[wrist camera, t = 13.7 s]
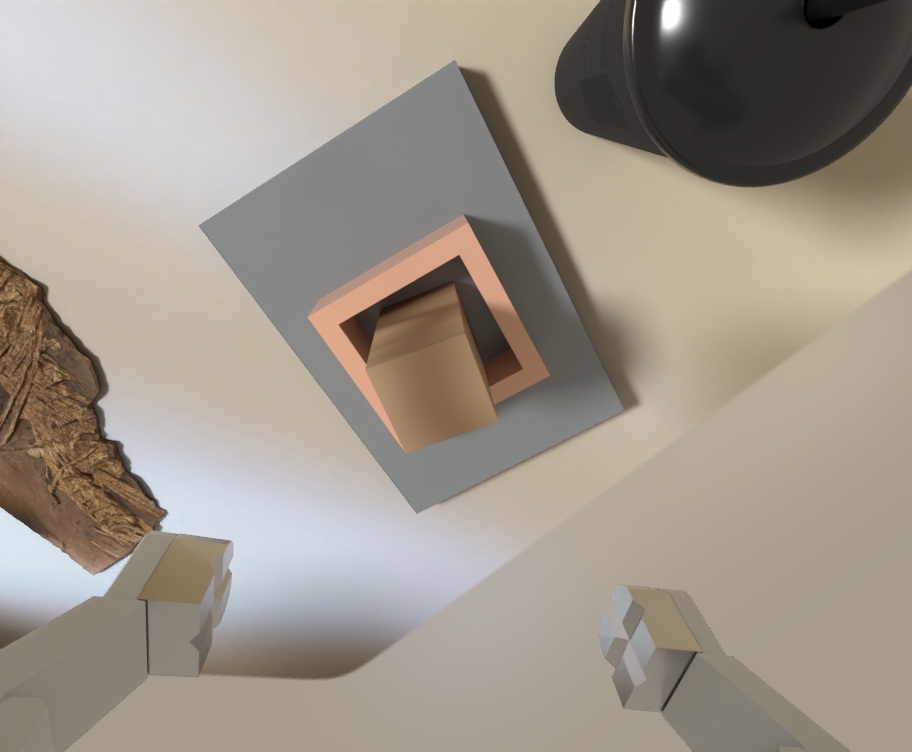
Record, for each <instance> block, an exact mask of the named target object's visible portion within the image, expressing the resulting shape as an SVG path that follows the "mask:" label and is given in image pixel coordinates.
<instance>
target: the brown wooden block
mask: <svg viewBox="0 0 912 752" xmlns="http://www.w3.org/2000/svg"><path fill="white" fill-rule="evenodd" d="M365 371H366V373H367V375H368V377H369V379H370V381H371V383H372V385H373V387H374V389H375V391H376V393H377V395H378V397H379V399H380V401H381V404H382V406H383V408H384V410H385V412H386V414H387V416H388V418H389V420H390V422H391V424H392V426H393V428H394V430H395V432H396V434H397V436H398V439H399V441H400V443H401V445H402V447H403V449H404V451H405V453H406V454H407V453H409V452H412V451H415V450H418V449H421V448H424V447H427V446H430V445H432V444H435V443H438V442H441V441H444V440H447V439H450V438H453V437H455V436H458V435H461V434H464V433H467V432H470V431H473V430H475V429H478V428H481V427H484V426H487V425H490V424H493V423H496V422H498V417H497V413H496V410H495V406H494V402H493V398H492V395H491V391H490V387H489V384H488V380H487V376H486V372H485V369H484V365H483V361H482V358H481V354H480V350H479V347H478V345H477V342H476V339H475V337H474V334H473V331H472V329H471V326H470V323H469V321H468V318H467V315H466V313H465V310H464V307H463V305H462V302H461V299H460V297H459V294H458V291H457V289H456V286H455V284H454V281H452V282H450V283H447V284H445V285H442V286H439V287H437V288H434V289H431V290H429V291H426V292H423V293H421V294H418V295H415V296H413V297H410V298H408V299H405V300H402V301H400V302H397V303H394V304H392V305H389V306H386V307H384V308H381V310H380V314H379V318H378V322H377V326H376V330H375V334H374V338H373V341H372V345H371V349H370V353H369V357H368V361H367V365H366V369H365Z"/></svg>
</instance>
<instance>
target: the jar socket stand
mask: <svg viewBox="0 0 912 752" xmlns="http://www.w3.org/2000/svg"><path fill="white" fill-rule="evenodd" d="M199 227H200V228H201V229H202V231H203V232H204V233H205V235H206V236H207V237H208V239H209V240H210V241H211V243H212V244H213V245H214V247H215V248H216V249H217V251H218V252H219V253H220V255H221V256H222V257H223V259H224V260H225V261H226V262H227V264H228V265H229V266H230V268H231V269H232V270H233V272H234V273H235V274H236V276H237V277H238V278H239V280H240V281H241V282H242V284H243V285H244V286H245V288H246V289H247V290H248V292H249V293H250V294H251V295H252V297H253V298H254V299H255V301H256V302H257V303H258V305H259V306H260V307H261V309H262V310H263V311H264V313H265V314H266V315H267V317H268V318H269V319H270V321H271V322H272V323H273V325H274V326H275V327H276V329H277V330H278V331H279V332H280V334H281V335H282V336H283V338H284V339H285V340H286V342H287V343H288V344H289V346H290V347H291V348H292V350H293V351H294V352H295V354H296V355H297V356H298V358H299V359H300V360H301V362H302V363H303V364H304V366H305V367H306V368H307V369H308V371H309V372H310V373H311V375H312V376H313V377H314V379H315V380H316V381H317V383H318V384H319V385H320V387H321V388H322V389H323V391H324V392H325V393H326V395H327V396H328V397H329V399H330V400H331V401H332V402H333V404H334V405H335V406H336V408H337V409H338V410H339V412H340V413H341V414H342V416H343V417H344V418H345V420H346V421H347V422H348V424H349V425H350V426H351V428H352V429H353V430H354V432H355V433H356V434H357V436H358V437H359V438H360V439H361V441H362V442H363V443H364V445H365V446H366V447H367V449H368V450H369V451H370V453H371V454H372V455H373V457H374V458H375V459H376V461H377V462H378V463H379V465H380V466H381V467H382V469H383V470H384V471H385V472H386V474H387V475H388V476H389V478H390V479H391V480H392V482H393V483H394V484H395V486H396V487H397V488H398V490H399V491H400V492H401V494H402V495H403V496H404V498H405V499H406V500H407V502H408V503H409V504H410V506H411V507H412V508H413V509H414V511H415V512H416V513H419V512H421V511H423V510H425V509H427V508H429V507H431V506H433V505H435V504H437V503H439V502H441V501H443V500H445V499H447V498H449V497H451V496H453V495H456V494H458V493H460V492H462V491H464V490H466V489H468V488H470V487H472V486H474V485H476V484H478V483H480V482H482V481H484V480H486V479H488V478H490V477H492V476H494V475H496V474H498V473H500V472H502V471H504V470H506V469H508V468H510V467H512V466H514V465H516V464H518V463H520V462H522V461H524V460H526V459H528V458H530V457H532V456H534V455H536V454H538V453H540V452H542V451H544V450H546V449H548V448H550V447H552V446H554V445H556V444H558V443H560V442H562V441H564V440H566V439H568V438H570V437H572V436H574V435H576V434H578V433H580V432H582V431H584V430H586V429H588V428H590V427H592V426H594V425H596V424H598V423H600V422H602V421H604V420H606V419H608V418H610V417H612V416H614V415H616V414H618V413H620V412H622V411H624V409H623V407H622V405H621V403H620V401H619V399H618V396H617V394H616V392H615V390H614V388H613V386H612V384H611V382H610V380H609V378H608V376H607V374H606V372H605V370H604V368H603V365H602V363H601V361H600V359H599V357H598V355H597V353H596V351H595V349H594V347H593V345H592V343H591V341H590V339H589V336H588V334H587V332H586V330H585V328H584V326H583V324H582V322H581V320H580V318H579V316H578V314H577V312H576V310H575V308H574V305H573V303H572V301H571V299H570V297H569V295H568V293H567V291H566V289H565V287H564V285H563V283H562V281H561V279H560V276H559V274H558V272H557V270H556V268H555V266H554V264H553V262H552V260H551V258H550V256H549V254H548V252H547V250H546V247H545V245H544V243H543V241H542V239H541V237H540V235H539V233H538V231H537V229H536V227H535V225H534V223H533V221H532V219H531V216H530V214H529V212H528V210H527V208H526V206H525V204H524V202H523V200H522V198H521V196H520V194H519V192H518V190H517V187H516V185H515V183H514V181H513V179H512V177H511V175H510V173H509V171H508V169H507V167H506V165H505V163H504V161H503V159H502V156H501V154H500V152H499V150H498V148H497V146H496V144H495V142H494V140H493V138H492V136H491V134H490V132H489V130H488V127H487V125H486V123H485V121H484V119H483V117H482V115H481V113H480V111H479V109H478V107H477V105H476V103H475V101H474V99H473V96H472V94H471V92H470V90H469V88H468V86H467V84H466V82H465V80H464V78H463V76H462V74H461V72H460V70H459V67H458V65H457V63H456V61H455V60H454V61H453V62H451V63H450V64H448V65H447V66H445V67H443V68H442V69H440V70H439V71H437V72H436V73H434V74H433V75H431V76H430V77H428V78H426V79H425V80H423V81H422V82H420V83H419V84H417V85H416V86H414V87H412V88H411V89H409V90H408V91H406V92H405V93H403V94H402V95H400V96H399V97H397V98H395V99H394V100H392V101H391V102H389V103H388V104H386V105H385V106H383V107H382V108H380V109H378V110H377V111H375V112H374V113H372V114H371V115H369V116H368V117H366V118H364V119H363V120H361V121H360V122H358V123H357V124H355V125H354V126H352V127H351V128H349V129H347V130H346V131H344V132H343V133H341V134H340V135H338V136H337V137H335V138H333V139H332V140H330V141H329V142H327V143H326V144H324V145H323V146H321V147H320V148H318V149H316V150H315V151H313V152H312V153H310V154H309V155H307V156H306V157H304V158H303V159H301V160H299V161H298V162H296V163H295V164H293V165H292V166H290V167H289V168H287V169H285V170H284V171H282V172H281V173H279V174H278V175H276V176H275V177H273V178H272V179H270V180H268V181H267V182H265V183H264V184H262V185H261V186H259V187H258V188H256V189H255V190H253V191H251V192H250V193H248V194H247V195H245V196H244V197H242V198H241V199H239V200H237V201H236V202H234V203H233V204H231V205H230V206H228V207H227V208H225V209H224V210H222V211H220V212H219V213H217V214H216V215H214V216H213V217H211V218H210V219H208V220H206V221H205V222H203V223H202V224H200V225H199ZM452 281H454V284H455V286H456V289H457V291H458V294H459V297H460V299H461V302H462V305H463V307H464V310H465V313H466V315H467V318H468V321H469V323H470V326H471V329H472V331H473V334H474V337H475V339H476V342H477V345H478V347H479V350H480V354H481V358H482V361H483V365H484V369H485V372H486V376H487V380H488V384H489V387H490V391H491V395H492V398H493V402H494V406H495V410H496V413H497V417H498V422H496V423H493V424H490V425H487V426H484V427H481V428H478V429H475V430H473V431H470V432H467V433H464V434H461V435H458V436H455V437H453V438H450V439H447V440H444V441H441V442H438V443H435V444H432V445H430V446H427V447H424V448H421V449H418V450H415V451H412V452H409V453H407V454H406V453H405V451H404V449H403V447H402V445H401V443H400V441H399V439H398V436H397V434H396V432H395V430H394V428H393V426H392V424H391V422H390V420H389V418H388V416H387V414H386V412H385V410H384V408H383V406H382V404H381V401H380V399H379V397H378V395H377V393H376V391H375V389H374V387H373V385H372V383H371V381H370V379H369V377H368V375H367V373H366V371H365V369H366V365H367V361H368V357H369V353H370V349H371V345H372V341H373V338H374V334H375V330H376V326H377V322H378V318H379V314H380V310H381V308H384V307H386V306H389V305H392V304H394V303H397V302H400V301H402V300H405V299H408V298H410V297H413V296H415V295H418V294H421V293H423V292H426V291H429V290H431V289H434V288H437V287H439V286H442V285H445V284H447V283H450V282H452Z"/></svg>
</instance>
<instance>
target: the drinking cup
mask: <svg viewBox="0 0 912 752" xmlns="http://www.w3.org/2000/svg"><path fill="white" fill-rule="evenodd" d="M911 86H912V0H601V1H600V2H599V3H598V4H597V6H596V7H595V8H594V9H593V11H592V12H591V13H590V15H589V16H588V17H587V18H586V20H585V21H584V22H583V23H582V25H581V26H580V27H579V28H578V30H577V31H576V32H575V33H574V35H573V36H572V37H571V39H570V40H569V41H568V42H567V44H566V46H565V47H564V49H563V51H562V53H561V55H560V57H559V60H558V63H557V67H556V72H555V93H556V98H557V102H558V105H559V107H560V109H561V111H562V113H563V115H564V116H565V118H566V119H567V120H568V121H569V122H570V123H571V124H572V125H573V126H574V127H576V128H577V129H579V130H580V131H583V132H585V133H588V134H591V135H595V136H598V137H601V138H605V139H608V140H611V141H614V142H618V143H621V144H624V145H628V146H631V147H634V148H638V149H641V150H644V151H648V152H651V153H654V154H658V155H661V156H664V157H668V158H670V159H671V160H672V161H673V162H674V163H675V164H677V165H678V166H680V167H681V168H683V169H684V170H686V171H687V172H689V173H691V174H693V175H695V176H697V177H699V178H702V179H705V180H707V181H710V182H714V183H718V184H722V185H728V186H736V187H764V186H772V185H777V184H782V183H786V182H790V181H793V180H796V179H799V178H802V177H804V176H807V175H810V174H812V173H814V172H816V171H818V170H820V169H822V168H824V167H826V166H828V165H829V164H831V163H833V162H834V161H836V160H838V159H839V158H841V157H842V156H844V155H845V154H847V153H848V152H849V151H851V150H852V149H854V148H855V147H856V146H857V145H859V144H860V143H861V142H862V141H863V140H865V139H866V138H867V137H868V136H869V135H870V134H871V133H872V132H873V131H874V130H875V129H877V128H878V127H879V126H880V125H881V124H882V123H883V121H884V120H885V119H886V118H887V117H888V116H889V115H890V114H891V113H892V111H893V110H894V109H895V108H896V106H897V105H898V104H899V103H900V101H901V100H902V99H903V97H904V96H905V95H906V93H907V92H908V90H909V89H910V87H911Z"/></svg>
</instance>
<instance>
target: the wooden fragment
mask: <svg viewBox="0 0 912 752" xmlns="http://www.w3.org/2000/svg"><path fill="white" fill-rule="evenodd" d="M42 298H43V291H42V288H41V287H40V286H39V285H37V284H36V283H35V282H34V281H32V280H31V279H30V278H29V277H28V276H27V274H26V273H24V272H23V271H22V270H20V269H18V268H15V267H13V266H11V265H9V264H7V263H6V262H5V261H4V260H3V259H1V258H0V507H1V508H3V509H4V510H5V511H7V512H8V513H9V514H11V515H12V516H14V517H15V518H16V519H18V520H19V521H21V522H22V523H24V524H25V525H26V526H28V527H29V528H30V529H32V530H33V531H34V532H36V533H38V534H39V535H40V536H41V537H43V538H44V539H46V540H48V541H50V543H53V545H54V546H56V547H58V548H60V549H61V550H62V552H64V553H66V554H68V555H69V556H70V558H71V559H73V560H74V561H75V562H77V563H78V564H79V565H81V566H82V567H83V568H84V569H85V570H87V571H88V572H90V573H91V574H92V575H95V574H97V573H99V572H100V571H101V570H103V569H104V568H106V567H108V566H109V565H111V564H112V563H114V562H116V561H117V560H119V559H122V558H124V557H126V556H128V555H130V554H131V553H133V551H134V550H135V548H136V547H137V543H138V542H140V541H141V540H142V539H143V537H144V536H145V535H146V534H147V533H149V532H150V531H151V530H153V531H154V529H155V528H154V524H155V522H156V521H157V520H158V519H159V518H160V517H161V516H162V515H163V514H164V510H163V509H161V508H159V507H158V506H157V505H156V504H155V501H154V500H152V499H150V498H149V497H147V496H146V495H145V494H144V491H143V489H142V487H141V486H140V485H139V483H138V481H137V482H136V481H135V479H134V478H133V477H132V476H131V475H130V474H129V473H128V472H126V471H125V468H124V467H123V466H122V463H123V459H122V458H121V457H120V456H119V454H118V451H117V447H116V444H115V442H113V441H109V440H105V439H103V438H102V437H101V435H100V429H99V427H98V426H99V423H98V419H97V417H96V415H95V413H94V408H93V407H92V404H93V402H94V401H95V398H96V397H97V395H98V394H97V393H98V392H99V390H100V388H99V385H98V380H97V377H96V374H95V371H94V369H93V367H92V365H91V361H90V359H89V358H88V357H86V356H84V355H83V354H81V353H80V352H79V351H78V350H77V348H76V346H75V345H74V344H73V343H72V341H71V340H70V339H69V338H68V337H67V336H66V335H64V333H63V332H62V331H61V330H60V329H59V327H58V326H57V325H56V323H55V322H54V321H53V318H52V317H51V315H50V313H49V311H48V310H47V309H46V307H45V305H44V303H43V302H42Z"/></svg>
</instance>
